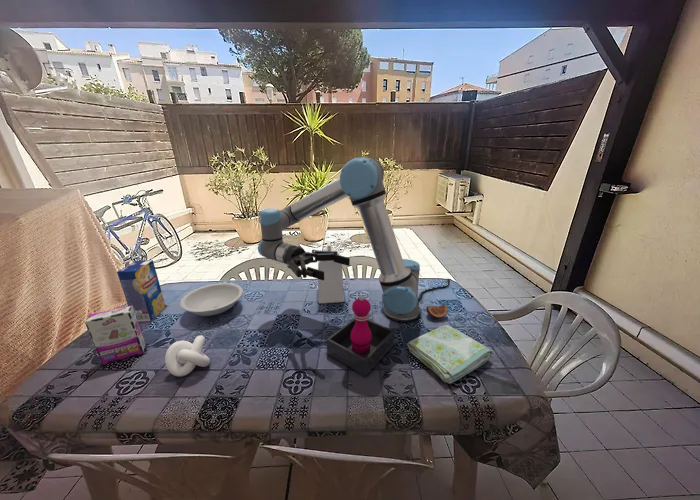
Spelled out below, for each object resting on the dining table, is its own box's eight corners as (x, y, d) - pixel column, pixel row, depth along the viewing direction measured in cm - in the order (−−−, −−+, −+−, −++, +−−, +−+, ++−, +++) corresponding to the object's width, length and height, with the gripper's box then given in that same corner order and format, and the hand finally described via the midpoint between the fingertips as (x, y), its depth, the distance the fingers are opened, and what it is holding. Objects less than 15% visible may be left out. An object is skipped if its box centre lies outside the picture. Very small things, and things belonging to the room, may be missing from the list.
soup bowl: (251, 313, 114) (249, 299, 111) (186, 333, 101) (182, 318, 99) (237, 290, 132) (235, 278, 130) (181, 305, 120) (177, 292, 117)
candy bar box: (146, 344, 95) (133, 304, 90) (143, 353, 91) (130, 312, 86) (105, 355, 91) (89, 313, 85) (101, 365, 86) (83, 321, 81)
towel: (404, 350, 92) (405, 338, 90) (447, 330, 102) (449, 319, 100) (446, 389, 77) (449, 375, 76) (492, 361, 87) (495, 348, 86)
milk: (318, 290, 132) (315, 239, 123) (341, 289, 133) (341, 238, 124) (318, 303, 121) (315, 248, 112) (344, 301, 122) (343, 247, 113)
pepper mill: (370, 355, 89) (371, 302, 82) (348, 352, 90) (348, 300, 83) (372, 341, 95) (374, 291, 88) (352, 338, 97) (352, 289, 90)
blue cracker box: (165, 306, 119) (153, 260, 111) (151, 320, 109) (136, 271, 101) (149, 307, 118) (135, 260, 111) (133, 322, 108) (116, 272, 100)
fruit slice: (443, 311, 114) (444, 301, 113) (449, 321, 108) (451, 310, 106) (423, 312, 114) (424, 302, 112) (428, 321, 108) (430, 311, 106)
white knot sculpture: (183, 353, 91) (177, 331, 88) (220, 351, 92) (215, 329, 89) (164, 379, 81) (156, 355, 78) (205, 377, 81) (199, 353, 78)
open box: (358, 328, 104) (358, 315, 102) (394, 345, 95) (394, 330, 93) (327, 354, 91) (326, 339, 89) (365, 376, 82) (365, 360, 80)
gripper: (314, 254, 111) (357, 266, 99) (264, 276, 91) (311, 294, 80) (313, 237, 108) (358, 247, 96) (262, 255, 89) (310, 271, 77)
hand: (337, 268), depth 88 cm, fingers open, 13 cm apart
